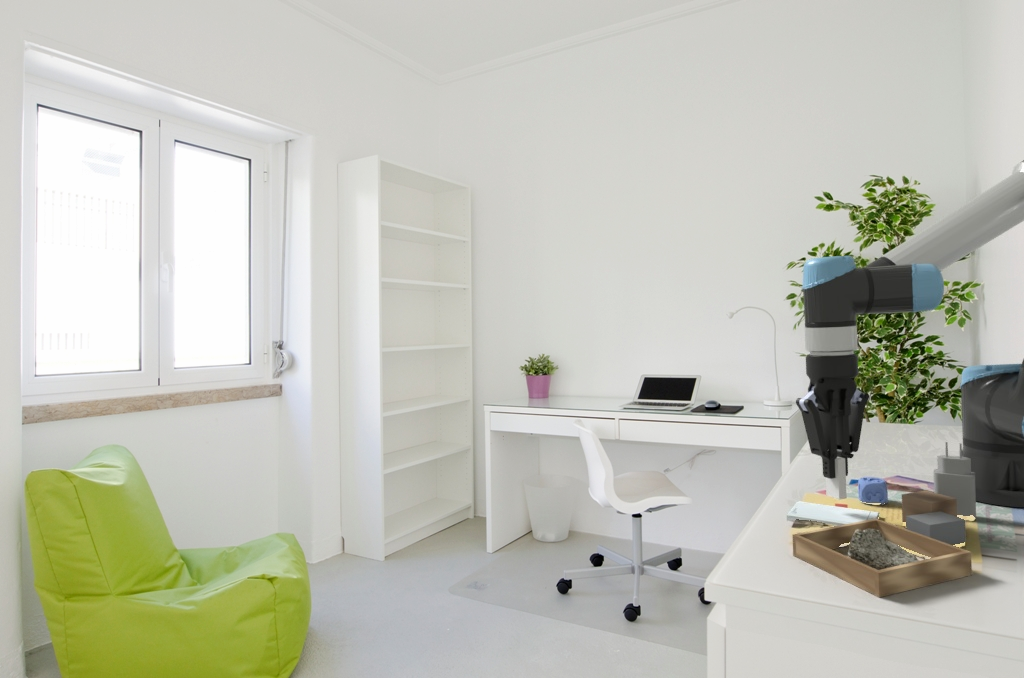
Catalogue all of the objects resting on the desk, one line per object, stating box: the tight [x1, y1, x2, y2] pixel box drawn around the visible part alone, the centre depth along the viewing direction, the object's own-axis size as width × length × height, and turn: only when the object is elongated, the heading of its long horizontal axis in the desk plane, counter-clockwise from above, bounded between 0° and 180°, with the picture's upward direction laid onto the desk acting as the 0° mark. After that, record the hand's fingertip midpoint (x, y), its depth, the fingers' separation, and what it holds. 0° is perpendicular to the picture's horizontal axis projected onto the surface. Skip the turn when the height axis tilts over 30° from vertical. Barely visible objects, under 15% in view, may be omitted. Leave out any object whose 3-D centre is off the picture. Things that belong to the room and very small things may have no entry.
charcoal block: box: [905, 511, 967, 545], centre depth 90 cm, size 6×4×4 cm, turn 102°
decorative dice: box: [857, 476, 889, 504], centre depth 109 cm, size 4×4×4 cm
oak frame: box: [792, 518, 973, 598], centre depth 84 cm, size 15×14×3 cm
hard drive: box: [786, 501, 880, 526], centre depth 102 cm, size 2×8×12 cm
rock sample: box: [846, 528, 921, 570], centre depth 82 cm, size 10×8×9 cm
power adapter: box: [932, 441, 977, 519], centre depth 100 cm, size 3×5×12 cm, turn 53°
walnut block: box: [901, 489, 957, 522], centre depth 96 cm, size 5×5×5 cm
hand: (836, 496), depth 102 cm, fingers closed
